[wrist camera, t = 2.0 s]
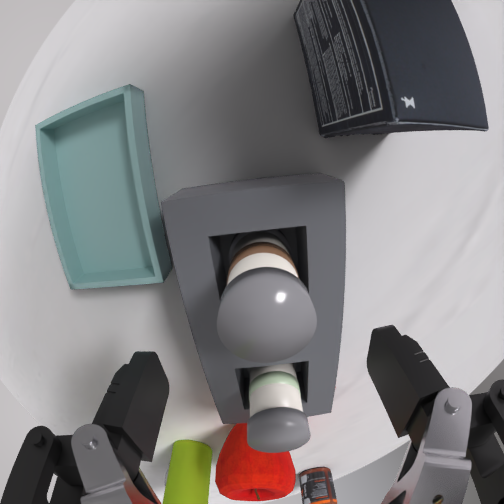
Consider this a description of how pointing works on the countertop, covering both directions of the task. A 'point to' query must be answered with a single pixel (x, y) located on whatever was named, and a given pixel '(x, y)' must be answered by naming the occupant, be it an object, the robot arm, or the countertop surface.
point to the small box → (389, 66)
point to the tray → (103, 192)
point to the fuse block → (215, 281)
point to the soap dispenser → (188, 473)
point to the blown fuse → (264, 300)
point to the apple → (252, 470)
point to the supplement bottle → (317, 486)
